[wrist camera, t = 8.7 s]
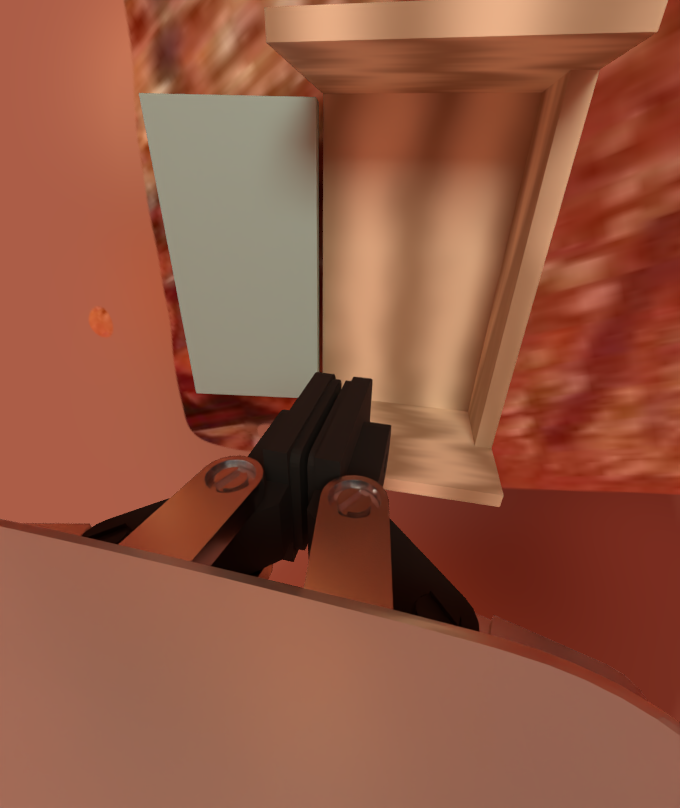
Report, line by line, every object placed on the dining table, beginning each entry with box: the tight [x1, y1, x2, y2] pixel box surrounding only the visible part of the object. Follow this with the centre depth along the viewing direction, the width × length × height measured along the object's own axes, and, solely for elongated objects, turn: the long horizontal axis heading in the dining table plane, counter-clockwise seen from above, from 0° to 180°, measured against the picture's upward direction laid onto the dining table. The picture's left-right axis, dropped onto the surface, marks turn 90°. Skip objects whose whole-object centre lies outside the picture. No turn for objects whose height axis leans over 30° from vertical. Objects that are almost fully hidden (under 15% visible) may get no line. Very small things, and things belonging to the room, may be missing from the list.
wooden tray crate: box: [264, 0, 668, 507], centre depth 25 cm, size 14×23×13 cm, turn 178°
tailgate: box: [139, 93, 319, 398], centre depth 29 cm, size 2×21×11 cm
